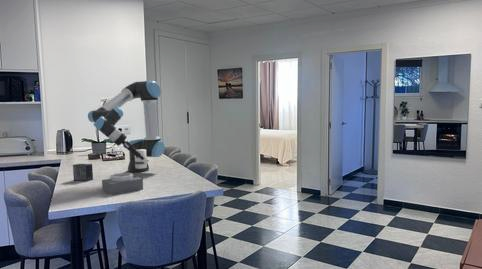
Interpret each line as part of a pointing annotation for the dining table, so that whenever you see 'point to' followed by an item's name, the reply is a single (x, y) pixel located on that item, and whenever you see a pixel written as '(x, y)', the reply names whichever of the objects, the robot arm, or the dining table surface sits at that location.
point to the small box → (82, 172)
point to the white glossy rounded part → (138, 162)
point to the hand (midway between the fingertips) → (146, 161)
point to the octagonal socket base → (122, 183)
